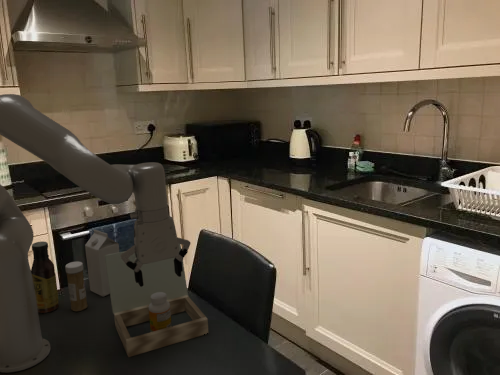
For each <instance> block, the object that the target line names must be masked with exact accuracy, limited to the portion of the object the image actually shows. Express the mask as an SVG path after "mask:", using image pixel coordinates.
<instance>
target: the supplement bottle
mask: <svg viewBox="0 0 500 375" xmlns="http://www.w3.org/2000/svg"><path fill="white" fill-rule="evenodd" d="M149 319H150V321H149V329H150V332H154V331H157V330H161V329H164V328H168V327H172V324H173V323H172V315H171V311H170V303H169V302H168V301H167V295H166V293H163V292H157V293H154V294H152V295H151V303H150V305H149Z"/></svg>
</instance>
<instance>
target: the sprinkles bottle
mask: <svg viewBox="0 0 500 375" xmlns="http://www.w3.org/2000/svg"><path fill="white" fill-rule="evenodd" d="M83 264H84V263H83V262H82V261H71V262H69V263H67V264H66V265H65V273H66V277H67V286H68V288H67V289H68V294H69V302H70V310H71V311H73V312H81V311H84V310H86V309H87V308H88V301H87V292H86V284H85V279H84V278H85V277H84V265H83Z"/></svg>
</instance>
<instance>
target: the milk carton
mask: <svg viewBox="0 0 500 375" xmlns="http://www.w3.org/2000/svg"><path fill="white" fill-rule="evenodd" d="M108 235H109V234H108V233H107V232H103V231H100V230H98V229H93V234H91V236H90V238H89V239H88V241H87V242H86V243H85V244H84V249H85V256H86V257H85V258H86V265H87V272H88V282H89V290H90V292H92V293H94V294H97V295H99V296H100V297H105V296H108V295H110V290H109V283H108V276H107V269H106V263H105V256H104V255H108V254H114V253H119V252H120V246H119V243H118V242H117V241H116V240H114V239H112V238H110V237H109V236H108Z"/></svg>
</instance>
